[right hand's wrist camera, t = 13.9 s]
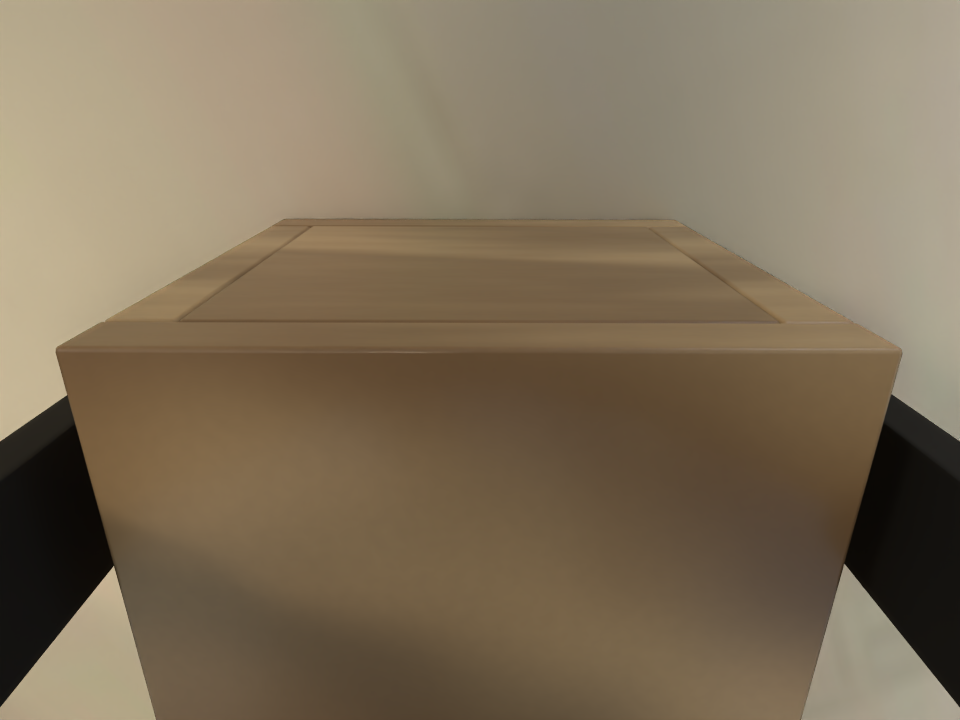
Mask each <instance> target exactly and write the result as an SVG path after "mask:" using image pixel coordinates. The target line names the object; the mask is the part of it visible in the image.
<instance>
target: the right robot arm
mask: <svg viewBox="0 0 960 720" xmlns="http://www.w3.org/2000/svg"><path fill="white" fill-rule="evenodd" d="M844 564H845V565H846V566H847V567H848V569H849V570H850V571H851V572H852V574H853V575H854V576H855V577H856V579H857V580H858V581H859V582H860V583H861V585H862V586H863V587H864V588H865V590H866V591H867V592H868V593H869V595H870V596H871V597H872V598H873V600H874V601H875V602H876V603H877V605H878V606H879V607H880V608H881V610H882V611H883V612H884V613H885V615H886V616H887V617H888V618H889V620H890V621H891V622H892V623H893V625H894V626H895V627H896V628H897V630H898V631H899V632H900V633H901V635H902V636H903V637H904V638H905V640H906V641H907V642H908V643H909V645H910V646H911V647H912V648H913V650H914V651H915V652H916V653H917V654H918V656H919V657H920V658H921V659H922V661H923V662H924V663H925V664H926V666H927V667H928V668H929V669H930V671H931V672H932V673H933V674H934V676H935V677H936V678H937V679H938V681H939V682H940V683H941V684H942V686H943V687H944V688H945V689H946V691H947V692H948V693H949V694H950V696H951V697H952V698H953V699H954V701H955V702H956V703H957V704H958V706H959V707H960V441H958V440H957V439H955V438H954V437H952V436H951V435H950V434H948V433H947V432H945V431H944V430H942V429H941V428H939V427H938V426H937V425H935V424H934V423H932V422H931V421H929V420H928V419H926V418H925V417H924V416H922V415H921V414H919V413H918V412H916V411H915V410H913V409H912V408H910V407H909V406H908V405H906V404H905V403H903V402H902V401H900V400H899V399H897V398H896V397H895V396H893V395H892V394H891V396H890V400H889V404H888V407H887V411H886V414H885V418H884V422H883V425H882V429H881V433H880V436H879V440H878V443H877V447H876V451H875V454H874V458H873V461H872V465H871V469H870V472H869V476H868V479H867V483H866V487H865V490H864V494H863V497H862V501H861V505H860V508H859V512H858V515H857V519H856V523H855V526H854V530H853V534H852V537H851V541H850V544H849V548H848V552H847V555H846V559H845V562H844ZM113 566H114V563H113V560H112V556H111V552H110V549H109V545H108V541H107V538H106V534H105V530H104V527H103V523H102V520H101V516H100V512H99V509H98V505H97V501H96V498H95V494H94V490H93V487H92V483H91V479H90V476H89V472H88V468H87V465H86V461H85V457H84V454H83V450H82V446H81V443H80V439H79V435H78V432H77V428H76V425H75V421H74V417H73V414H72V410H71V406H70V403H69V399H68V395H67V396H65V397H64V398H63V399H61V400H60V401H58V402H57V403H55V404H54V405H52V406H51V407H50V408H48V409H47V410H45V411H44V412H42V413H41V414H39V415H38V416H37V417H35V418H34V419H32V420H31V421H29V422H28V423H26V424H25V425H24V426H22V427H21V428H19V429H18V430H16V431H15V432H13V433H12V434H11V435H9V436H8V437H6V438H5V439H3V440H2V441H0V707H1V706H2V704H3V703H4V702H5V701H6V699H7V698H8V697H9V696H10V694H11V693H12V692H13V691H14V689H15V688H16V687H17V686H18V684H19V683H20V682H21V681H22V679H23V678H24V677H25V676H26V674H27V673H28V672H29V671H30V669H31V668H32V667H33V666H34V664H35V663H36V662H37V661H38V659H39V658H40V657H41V656H42V655H43V653H44V652H45V651H46V650H47V648H48V647H49V646H50V645H51V643H52V642H53V641H54V640H55V638H56V637H57V636H58V635H59V633H60V632H61V631H62V630H63V628H64V627H65V626H66V625H67V623H68V622H69V621H70V620H71V618H72V617H73V616H74V615H75V613H76V612H77V611H78V610H79V608H80V607H81V606H82V605H83V603H84V602H85V601H86V600H87V598H88V597H89V596H90V595H91V593H92V592H93V591H94V590H95V588H96V587H97V586H98V585H99V584H100V582H101V581H102V580H103V579H104V577H105V576H106V575H107V574H108V572H109V571H110V570H111V569H112V567H113Z"/></svg>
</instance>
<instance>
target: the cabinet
mask: <svg viewBox="0 0 960 720" xmlns="http://www.w3.org/2000/svg"><path fill="white" fill-rule="evenodd" d="M56 355H57V359H58V362H59V366H60V370H61V373H62V377H63V381H64V384H65V388H66V392H67V395H68V399H69V403H70V406H71V410H72V414H73V417H74V421H75V425H76V428H77V432H78V435H79V439H80V443H81V446H82V450H83V454H84V457H85V461H86V465H87V468H88V472H89V476H90V479H91V483H92V487H93V490H94V494H95V498H96V501H97V505H98V509H99V512H100V516H101V520H102V523H103V527H104V530H105V534H106V538H107V541H108V545H109V549H110V552H111V556H112V560H113V563H114V567H115V571H116V574H117V578H118V582H119V585H120V589H121V593H122V596H123V600H124V604H125V607H126V611H127V615H128V618H129V622H130V625H131V629H132V633H133V636H134V640H135V644H136V647H137V651H138V655H139V658H140V662H141V666H142V669H143V673H144V677H145V680H146V684H147V688H148V691H149V695H150V699H151V702H152V706H153V710H154V713H155V717H156V720H801V717H802V714H803V710H804V707H805V703H806V699H807V696H808V692H809V689H810V685H811V681H812V678H813V674H814V671H815V667H816V663H817V660H818V656H819V653H820V649H821V645H822V642H823V638H824V635H825V631H826V627H827V624H828V620H829V616H830V613H831V609H832V606H833V602H834V598H835V595H836V591H837V588H838V584H839V580H840V577H841V573H842V570H843V566H844V562H845V559H846V555H847V552H848V548H849V544H850V541H851V537H852V534H853V530H854V526H855V523H856V519H857V515H858V512H859V508H860V505H861V501H862V497H863V494H864V490H865V487H866V483H867V479H868V476H869V472H870V469H871V465H872V461H873V458H874V454H875V451H876V447H877V443H878V440H879V436H880V433H881V429H882V425H883V422H884V418H885V414H886V411H887V407H888V404H889V400H890V396H891V393H892V389H893V386H894V382H895V378H896V375H897V371H898V368H899V364H900V360H901V357H902V350H901V348H899V347H897V346H895V345H894V344H892V343H890V342H888V341H887V340H885V339H883V338H881V337H880V336H878V335H876V334H874V333H873V332H871V331H869V330H867V329H866V328H864V327H862V326H860V325H858V324H854V323H853V322H852V321H851V320H849V319H847V318H845V317H844V316H842V315H840V314H838V313H837V312H835V311H833V310H831V309H830V308H828V307H826V306H824V305H823V304H821V303H819V302H817V301H816V300H814V299H812V298H810V297H809V296H807V295H805V294H803V293H802V292H800V291H798V290H796V289H795V288H793V287H791V286H790V285H788V284H786V283H784V282H783V281H781V280H779V279H777V278H776V277H774V276H772V275H770V274H769V273H767V272H765V271H763V270H762V269H760V268H758V267H756V266H755V265H753V264H751V263H749V262H748V261H746V260H744V259H742V258H741V257H739V256H737V255H735V254H734V253H732V252H730V251H728V250H727V249H725V248H723V247H721V246H720V245H718V244H716V243H714V242H713V241H711V240H709V239H707V238H706V237H704V236H702V235H700V234H699V233H697V232H695V231H693V230H692V229H690V228H688V227H686V226H685V225H683V224H681V223H679V222H678V221H676V220H424V219H284V220H282V221H280V222H278V223H276V224H275V225H273V226H272V227H270V228H268V229H266V230H264V231H263V232H261V233H259V234H257V235H255V236H254V237H252V238H250V239H248V240H247V241H245V242H243V243H241V244H240V245H238V246H236V247H234V248H232V249H231V250H229V251H227V252H225V253H224V254H222V255H220V256H218V257H217V258H215V259H213V260H211V261H210V262H208V263H206V264H204V265H202V266H201V267H199V268H197V269H195V270H194V271H192V272H190V273H188V274H187V275H185V276H183V277H181V278H179V279H178V280H176V281H174V282H172V283H171V284H169V285H167V286H165V287H164V288H162V289H160V290H158V291H156V292H155V293H153V294H151V295H149V296H148V297H146V298H144V299H142V300H141V301H139V302H137V303H135V304H133V305H132V306H130V307H128V308H126V309H125V310H123V311H121V312H119V313H118V314H116V315H114V316H112V317H111V318H109V319H107V320H106V321H105V322H101V323H99V324H97V325H95V326H93V327H92V328H90V329H88V330H86V331H84V332H83V333H81V334H79V335H77V336H76V337H74V338H72V339H70V340H69V341H67V342H65V343H63V344H61V345H60V346H58V347H57V348H56Z"/></svg>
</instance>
